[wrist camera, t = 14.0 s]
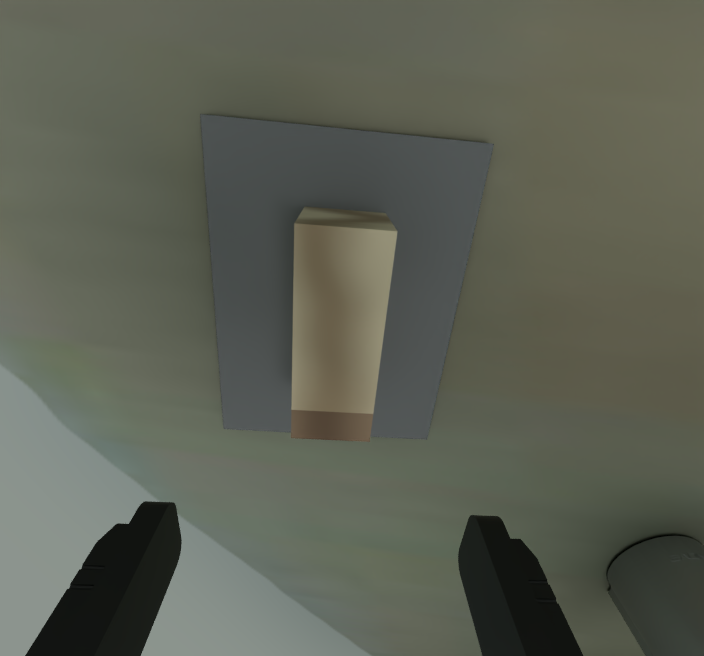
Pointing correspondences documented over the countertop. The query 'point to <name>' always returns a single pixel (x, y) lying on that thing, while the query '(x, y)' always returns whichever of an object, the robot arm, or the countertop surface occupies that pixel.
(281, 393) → the mat
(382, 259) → the maple bar
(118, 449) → the countertop surface
